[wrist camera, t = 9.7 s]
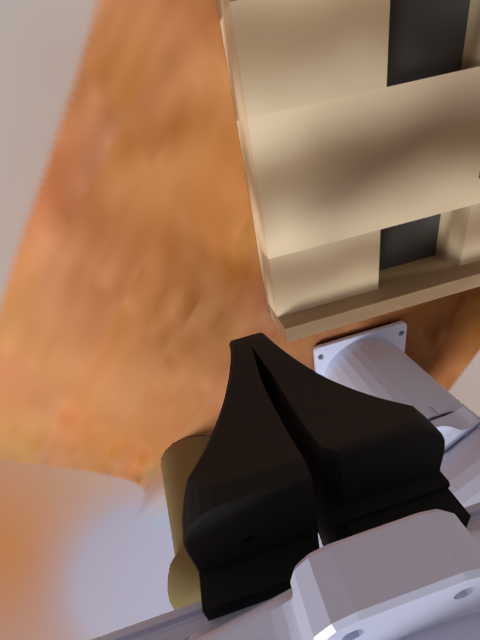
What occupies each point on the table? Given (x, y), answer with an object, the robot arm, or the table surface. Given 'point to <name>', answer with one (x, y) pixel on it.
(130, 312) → the table surface
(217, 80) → the table surface
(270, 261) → the board
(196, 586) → the cork
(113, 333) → the table surface
